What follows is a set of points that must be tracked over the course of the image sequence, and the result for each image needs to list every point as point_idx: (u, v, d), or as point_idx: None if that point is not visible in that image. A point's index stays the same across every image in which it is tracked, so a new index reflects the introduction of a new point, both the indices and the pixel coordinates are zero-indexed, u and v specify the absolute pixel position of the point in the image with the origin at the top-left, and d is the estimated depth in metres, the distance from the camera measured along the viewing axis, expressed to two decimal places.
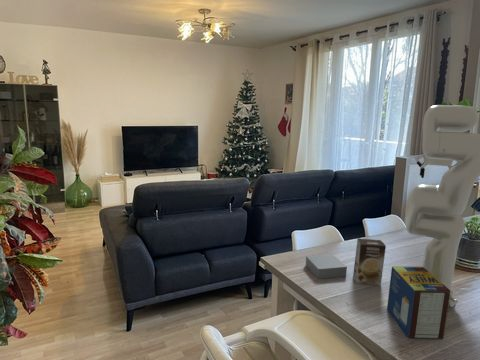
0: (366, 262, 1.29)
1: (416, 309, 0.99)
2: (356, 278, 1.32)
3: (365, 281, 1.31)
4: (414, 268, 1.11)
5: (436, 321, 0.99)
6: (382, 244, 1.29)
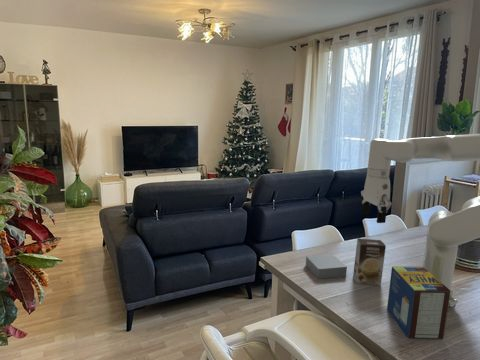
0: (366, 262, 1.29)
1: (416, 309, 0.99)
2: (356, 278, 1.32)
3: (365, 281, 1.31)
4: (414, 268, 1.11)
5: (436, 321, 0.99)
6: (382, 244, 1.29)
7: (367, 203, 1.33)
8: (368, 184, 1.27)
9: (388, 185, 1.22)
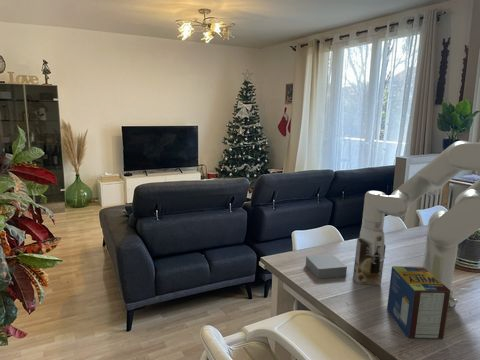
0: (366, 262, 1.29)
1: (416, 309, 0.99)
2: (356, 278, 1.32)
3: (365, 281, 1.31)
4: (414, 268, 1.11)
5: (436, 321, 0.99)
6: None
7: None
8: (363, 234, 1.31)
9: (382, 237, 1.26)
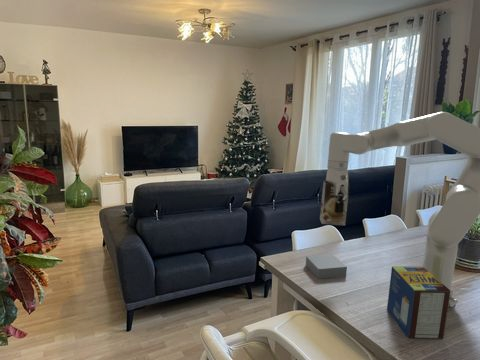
0: (331, 202, 1.32)
1: (416, 309, 0.99)
2: (321, 218, 1.35)
3: (330, 221, 1.34)
4: (414, 268, 1.11)
5: (436, 321, 0.99)
6: None
7: None
8: (329, 175, 1.34)
9: (346, 176, 1.29)
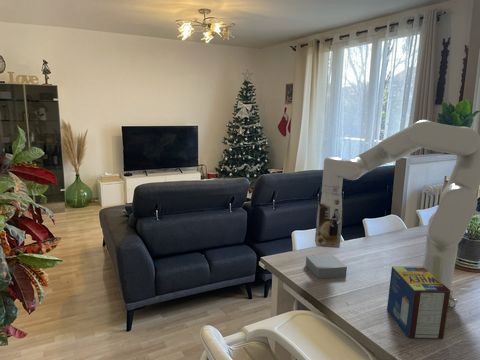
0: (325, 225, 1.35)
1: (416, 309, 0.99)
2: (316, 241, 1.38)
3: (324, 243, 1.37)
4: (414, 268, 1.11)
5: (436, 321, 0.99)
6: None
7: None
8: (323, 199, 1.37)
9: (340, 200, 1.32)
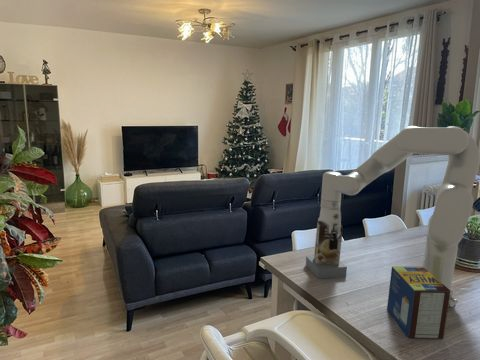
0: (325, 243, 1.36)
1: (416, 309, 0.99)
2: (316, 258, 1.39)
3: (324, 261, 1.38)
4: (414, 268, 1.11)
5: (436, 321, 0.99)
6: None
7: None
8: (322, 213, 1.38)
9: (339, 215, 1.33)
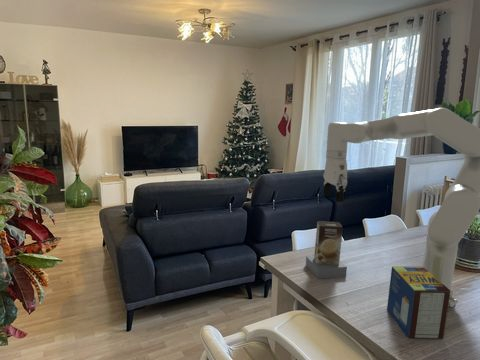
0: (325, 243, 1.36)
1: (416, 309, 0.99)
2: (316, 258, 1.39)
3: (324, 261, 1.38)
4: (414, 268, 1.11)
5: (436, 321, 0.99)
6: (339, 225, 1.36)
7: (328, 184, 1.40)
8: (327, 165, 1.34)
9: (345, 165, 1.29)
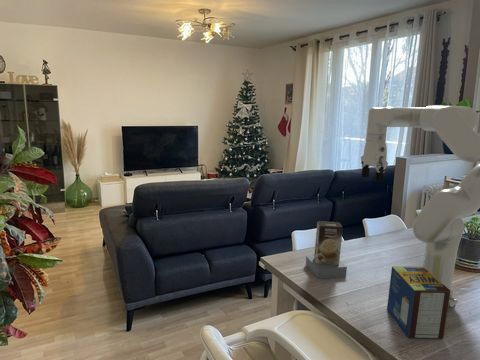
0: (325, 243, 1.36)
1: (416, 309, 0.99)
2: (316, 258, 1.39)
3: (324, 261, 1.38)
4: (414, 268, 1.11)
5: (436, 321, 0.99)
6: (339, 225, 1.36)
7: (366, 167, 1.49)
8: (367, 148, 1.43)
9: (385, 148, 1.38)
